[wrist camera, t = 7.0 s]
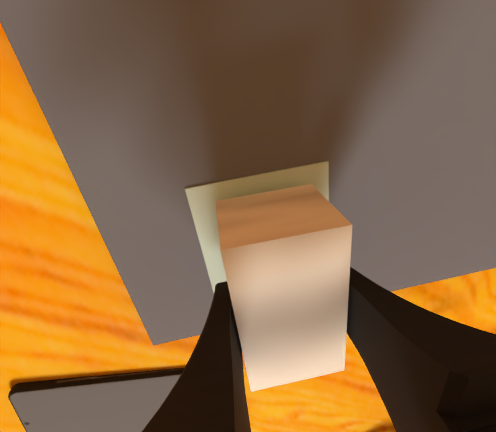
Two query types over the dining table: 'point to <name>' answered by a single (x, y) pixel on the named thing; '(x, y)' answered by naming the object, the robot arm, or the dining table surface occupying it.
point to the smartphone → (93, 402)
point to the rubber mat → (269, 129)
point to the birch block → (287, 282)
